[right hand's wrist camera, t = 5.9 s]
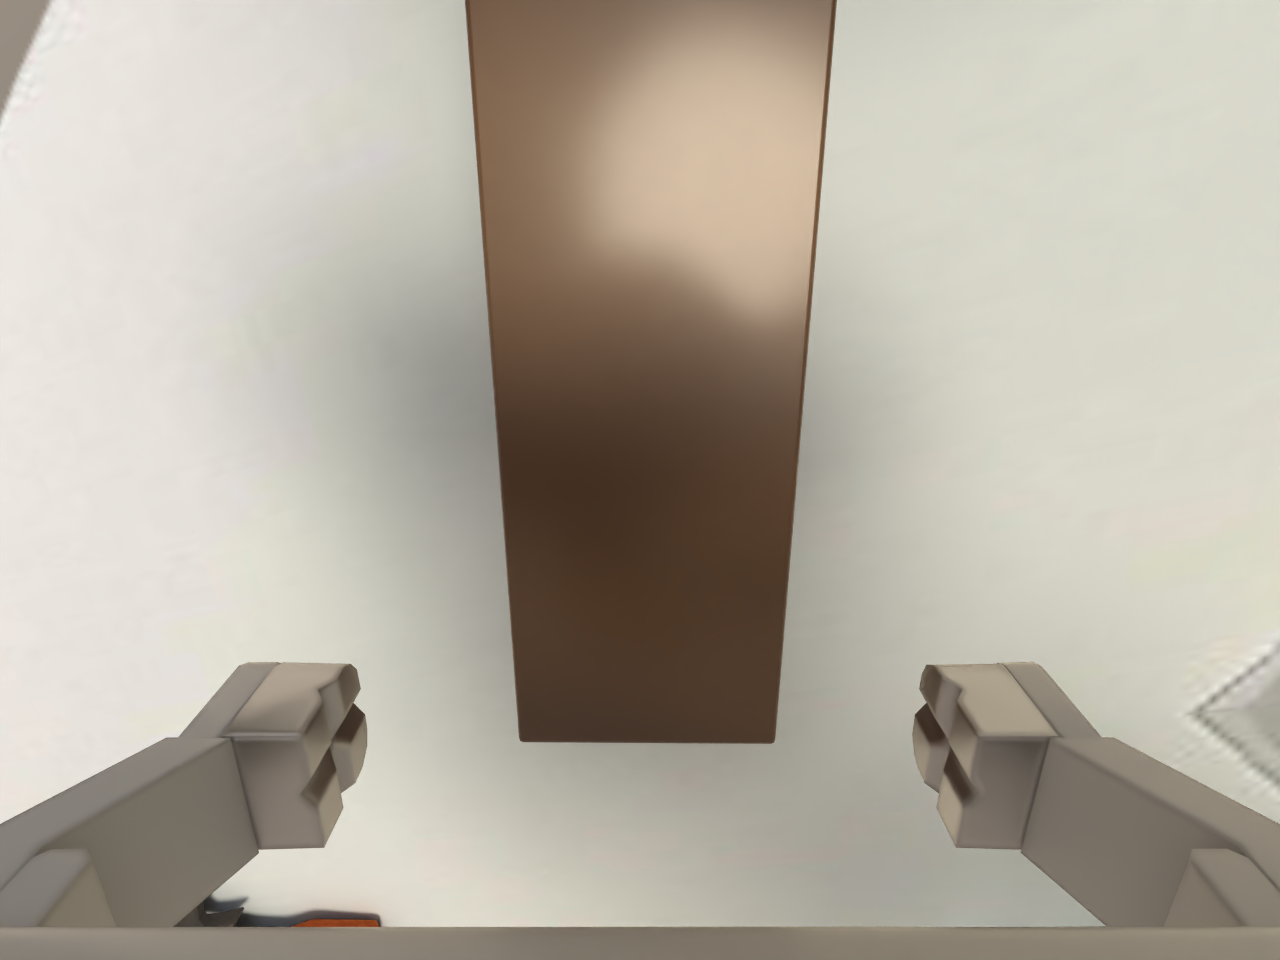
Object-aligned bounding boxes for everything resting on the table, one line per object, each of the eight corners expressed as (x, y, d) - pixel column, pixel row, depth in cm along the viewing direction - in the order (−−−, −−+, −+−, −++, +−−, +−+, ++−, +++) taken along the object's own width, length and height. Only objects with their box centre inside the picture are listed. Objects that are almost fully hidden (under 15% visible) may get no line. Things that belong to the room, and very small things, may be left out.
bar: (728, 542, 22) (775, 745, 14) (565, 542, 22) (518, 744, 14) (784, -591, 14) (980, -1707, 6) (519, -589, 14) (337, -1697, 6)
